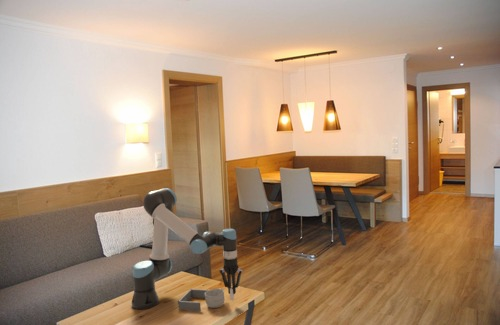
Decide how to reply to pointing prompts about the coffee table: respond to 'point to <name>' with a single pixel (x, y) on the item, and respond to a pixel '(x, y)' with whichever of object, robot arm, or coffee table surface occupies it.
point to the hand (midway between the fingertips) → (232, 299)
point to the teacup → (214, 297)
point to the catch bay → (187, 305)
